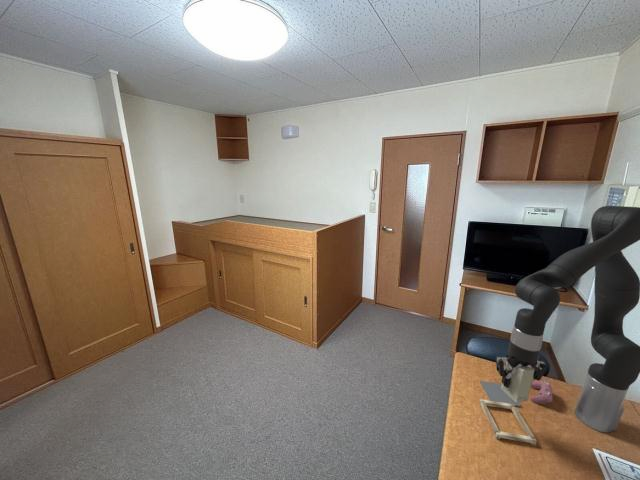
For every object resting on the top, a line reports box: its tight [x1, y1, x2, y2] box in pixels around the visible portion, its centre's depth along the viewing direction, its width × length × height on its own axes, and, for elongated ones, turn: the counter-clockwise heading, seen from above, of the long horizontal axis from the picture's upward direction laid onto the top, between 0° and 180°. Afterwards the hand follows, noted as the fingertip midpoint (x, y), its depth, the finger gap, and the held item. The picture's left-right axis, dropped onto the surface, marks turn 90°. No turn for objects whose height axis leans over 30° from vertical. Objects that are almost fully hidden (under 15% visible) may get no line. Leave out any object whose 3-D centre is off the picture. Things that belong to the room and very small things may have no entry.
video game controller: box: [530, 380, 554, 404], centre depth 98 cm, size 10×5×7 cm, turn 143°
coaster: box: [479, 380, 522, 408], centre depth 100 cm, size 10×10×1 cm
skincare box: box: [501, 362, 535, 403], centre depth 84 cm, size 6×4×12 cm
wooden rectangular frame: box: [478, 398, 538, 446], centre depth 88 cm, size 11×13×2 cm
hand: (515, 386), depth 84 cm, fingers closed on skincare box, 5 cm apart
